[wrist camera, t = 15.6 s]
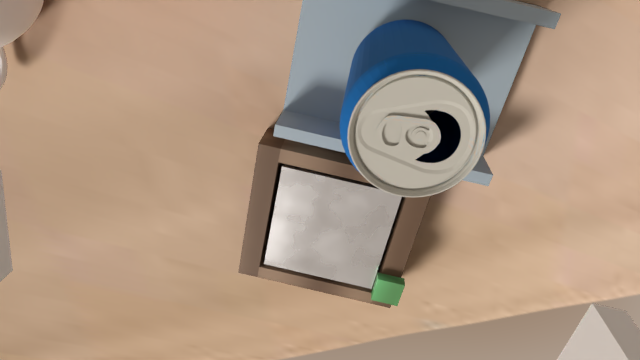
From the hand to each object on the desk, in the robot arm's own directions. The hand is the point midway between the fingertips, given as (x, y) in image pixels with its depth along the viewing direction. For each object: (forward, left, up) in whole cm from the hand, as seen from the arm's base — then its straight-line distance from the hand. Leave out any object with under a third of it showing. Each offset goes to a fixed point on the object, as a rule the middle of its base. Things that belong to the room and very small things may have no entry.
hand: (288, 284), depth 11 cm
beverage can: (+4, +1, -22) cm, 23 cm away
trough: (+4, +1, -23) cm, 23 cm away
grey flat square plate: (+2, -11, -21) cm, 24 cm away
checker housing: (+2, -11, -23) cm, 26 cm away
